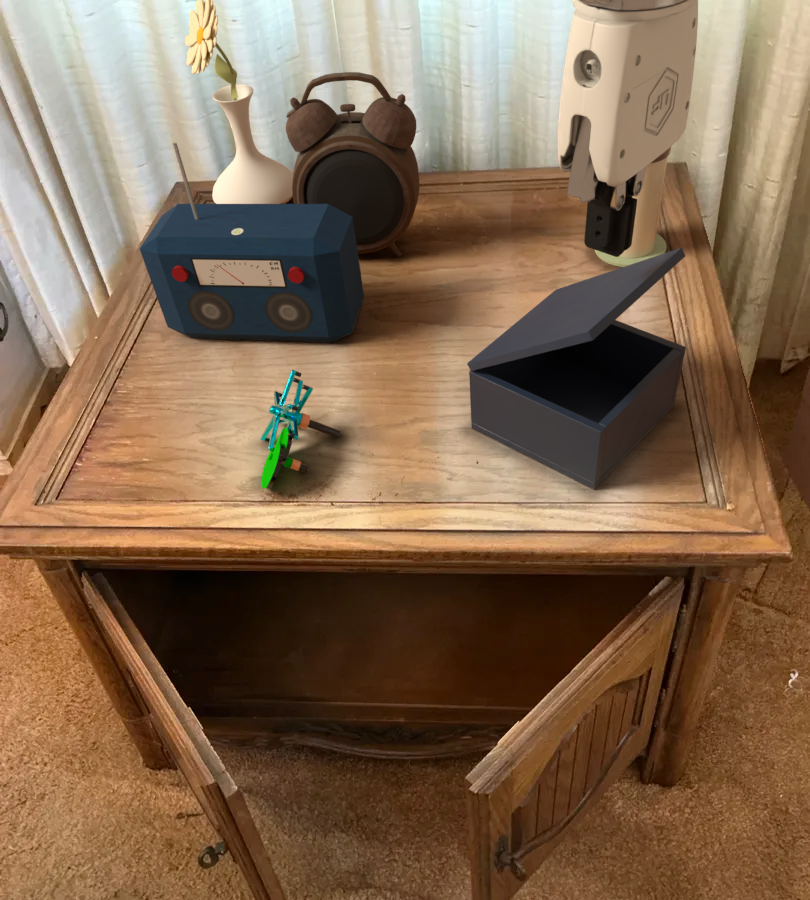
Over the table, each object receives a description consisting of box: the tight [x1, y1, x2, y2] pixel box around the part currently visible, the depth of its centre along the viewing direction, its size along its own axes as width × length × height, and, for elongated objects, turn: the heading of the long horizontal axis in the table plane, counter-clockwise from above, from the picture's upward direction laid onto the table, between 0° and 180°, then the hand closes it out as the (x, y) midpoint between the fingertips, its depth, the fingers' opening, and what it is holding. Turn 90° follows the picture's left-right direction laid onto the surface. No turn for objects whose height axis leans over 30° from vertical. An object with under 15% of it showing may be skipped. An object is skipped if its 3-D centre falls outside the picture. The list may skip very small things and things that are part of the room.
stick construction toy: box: [260, 369, 341, 491], centre depth 79 cm, size 12×7×8 cm
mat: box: [594, 233, 667, 268], centre depth 97 cm, size 8×8×1 cm
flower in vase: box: [184, 0, 294, 204], centre depth 103 cm, size 13×11×25 cm
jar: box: [619, 146, 672, 258], centre depth 93 cm, size 6×6×12 cm
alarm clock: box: [285, 71, 420, 258], centre depth 95 cm, size 15×7×20 cm, turn 86°
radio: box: [139, 142, 365, 343], centre depth 87 cm, size 21×9×20 cm, turn 80°
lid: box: [466, 247, 686, 371], centre depth 72 cm, size 14×14×1 cm
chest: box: [468, 319, 687, 490], centre depth 77 cm, size 14×14×7 cm
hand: (607, 246), depth 65 cm, fingers closed
